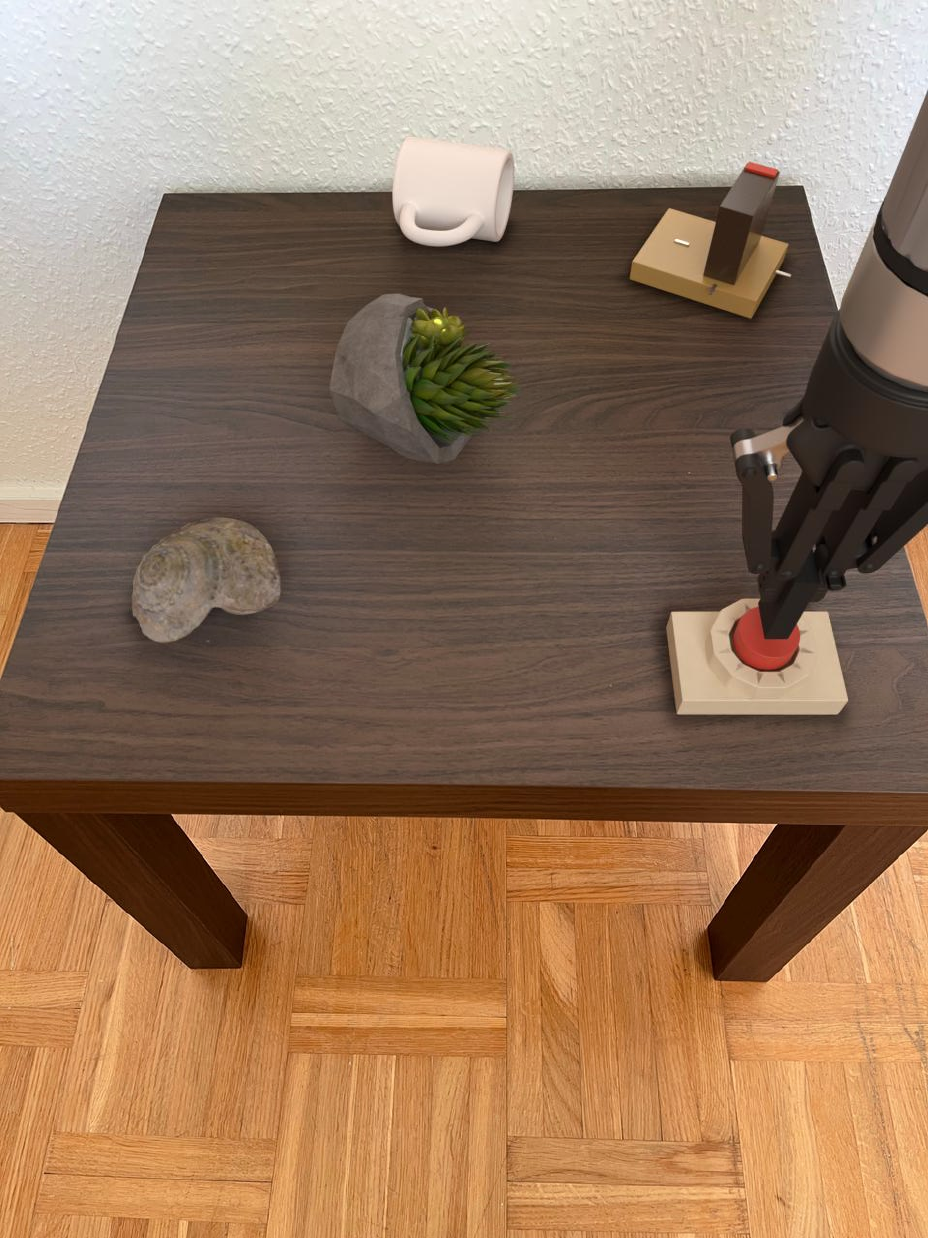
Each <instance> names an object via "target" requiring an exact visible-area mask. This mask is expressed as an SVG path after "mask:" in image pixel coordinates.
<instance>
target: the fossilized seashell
mask: <svg viewBox="0 0 928 1238" xmlns="http://www.w3.org/2000/svg"><path fill="white" fill-rule="evenodd" d="M132 588H133V589H132V592H131V593H132V594H131V610H132V611H131V612H132V616H133V618H136V620H137V622H138V625H139V626H140V627H141V631H142V634H143V635H144V636H146V637H147V638H148V639H149V640H151V641H153V642H155V643H160V644H165V643H166V644H167V643H173V642H177V641H179V640H181V639H184V638H185V637H187V636H189V635H190V634H191V633H193V632H194V630H196V629H197V628H198V627H200V626H201V625H202V623H203V622H204V621H205V620H206V618H207V617H208V615H209V614H210V613H211V611H212V609H214V608H219V609H221V610H222V611H224V612H225V613H228V614H232V615H236V616H246V615H252V614H255V613H259V612H262V611H263V612H264V611H265V610H266V609H267V610H268V609H269V608H271V607H273V606H274V605H275V604H277V602H279V601H280V600H281V598H282V596H283V591H282V577H281V572H280V568H279V563H278V560H277V558H276V554H275V552H274V550H273V547H272V546H271V543H270V542H269V541H268V540H267V538H266V537H265V536H264V535H263V534H262V532H260V531H259V529H258V528H256V527H254V526H253V525H252V524H250V523H248V522H247V521H244V520H238V519H235V518H229V517H224V516H223V517H210V518H204V519H201V520H196V521H195V522H188V523H187V524H185V525H183V526H181V527H180V526H179V528H177V529H175V530H173V531H172V532H171V533H169V534H168V535H167V536H165V538H164V537H163V538H160V540H159V542H157V543H155V544H154V545H152V547H150V549H149V551H147V552H146V553H145V554H144V555H143V557H142V559H141V561H140V564H138V565H137V566H136V570H135V575H134V578H133V579H132Z"/></svg>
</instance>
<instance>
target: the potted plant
mask: <svg viewBox="0 0 928 1238" xmlns="http://www.w3.org/2000/svg"><path fill="white" fill-rule="evenodd" d="M467 333H468V330H467V329H466V326H465V325H464V323H463V321H462V318H460V317H458V316H457V315H451V316H450V313H449V310H448V309H447V307H446V306H445V307H443V310H442V314H441V312H440V311H439V310H437V309H436V308H432V307H429V306H426V304H425V302H424V298H422V297H414V296H409V295H406V294H402V293H387V294H382V295H380V296H378V297H377V298H375V299H374V300H372V301H370V302H369V303H367V304H366V305H364V307H363V308H361V309H360V310H359V311H358V312H357V313H356V314H354V315H353V317H351V318H350V319H349V320H348V321H347V323H346V325H345V327H344V330H343V332H342V335H341V337H340V339H339V342H338V345H337V347H336V348H335V354H334V360H333V364H332V371H331V377H330V382H329V388H328V391H329V394H330V398H331V400H332V402H333V406H334V407H335V411H336V414H337V417H338V420H340V421H341V422H343V423H345V424H347V425H349V426H350V427H352V428H354V429H355V430H357V431H359V432H360V433H362V434H364V435H366V436H368V437H370V438H371V439H374V441H377V442H378V443H380V444H382V445H384V446H386V447H387V448H389V449H391V450H393V451H394V452H395V453H397V454H399V455H400V456H401V457H403V458H404V459H407V460H408V459H409V460H412V461H413V460H414V461H421V462H424V463H430V464H442V463H447V462H452V461H455V460H456V458H457V457H458V456H459V454H461V451H462V450H463V449H464V448H465V446H466V444H467V443H468V442H469V440H470V439H471V437H473V436H476V437H477V436H478V434H476V433H475V432H480V431H481V430H484V431H490V432H493V430H492V429H491V428H489V427H488V426H487V425H485V424H484V423H494V421H493V420H507V419H508V420H509V419H510V417H509V416H505V414H507V412H504V411H499V410H497V409H502V408H504V407H508V406H511V403H512V402H513V401H512V400H509V399H512V398H515V397H518V396H519V395H518V394H515V393H516V392H519V391H521V390H522V388H517V387H516V386H517V385H519V382H513V381H511V379H515V378H516V377H515V376H512V375H508V374H506V373H510V372H511V370H510V369H507V368H508V367H510V366H511V365H512V364H513V362H505V361H504V360H501V359H503V358H504V357H502V356H499V357H495V356H496V355H497V354H498V353H491V352H492V351H490V350H489V351H485V350H486V349H487V348H488V346H490V345H491V344H492V342H489V343H485V344H484V343H483V344H481V345H479V342H474V343H471V344H468V345H465V346H463V347H462V345H463V343H464V340H465V338H466V336H467ZM477 345H478V346H477ZM502 414H504V415H502ZM490 419H491V420H490ZM483 422H484V423H483Z"/></svg>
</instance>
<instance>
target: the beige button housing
mask: <svg viewBox="0 0 928 1238" xmlns="http://www.w3.org/2000/svg"><path fill="white" fill-rule="evenodd" d="M759 600H760V598H741V599H738V601H735V602H733V603H731V604H730V605H728V606H726V607H724V608H722V609H721V610H720V611H671V612H670V615H669V618H668V621H667V624H666V627H665V628H666V637H667V638H666V639H667V646H668V654H669V655H668V656H669V663H670V671H671V679H672V687H673V696H674V704H675V705H674V706H675V710H676V715H826V716H827V715H828V716H829V715H833V716H834V715H839V714H840V712H841V711H842V710H843V708H844V707H845V706H846V704H847V703H848V702H849V697H848V693H847V689H846V684H845V680H844V676H843V675H844V674H843V671H842V668H841V662H840V657H839V653H838V649H837V645H836V640H835V637H834V636H835V635H834V633H833V629H832V624H831V619H830V614H829V612H828V611H804V612H803V614H802V616H801V618H800V619H799V621H798V623H797V625H798V628H799V631H800V642H799V645H798V647H797V649H796V650H795V652H794V654H793V655H792V657H791V659H790V660H789V661H788V663H787V664H785V665H784V666H782V667H780V668H778V669H774V670H761V669H757V668H754V667H751V666H750V665H748V664H746V663H745V662H744V661H743V660H741V658H740V657H739V656H738V655H737V653H736V651H735V649H734V646H733V635H734V632H735V630H736V627H737V625H738V623H739V621H740V619H741V617H742V616H743V615H744V614H745V613H746V612H747V611H748V610H750V609H752V608H755V607H758V602H759Z"/></svg>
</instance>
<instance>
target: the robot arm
mask: <svg viewBox="0 0 928 1238" xmlns="http://www.w3.org/2000/svg"><path fill="white" fill-rule="evenodd" d="M756 434H757V433H756V432H755V431H754V430H753V429H752V428H748V427H741V428H738V429H736V430H734V431H733V432H732V433H731V434H730V436H729V441H730V446H731V452H732V458H733V464H734V468H735V473H736V478H737V479H738V481H739V482H740V484H741V538H742V543H743V549H744V550H743V551H744V555H745V561H746V566H747V570H748V572H749V573H750V574H752V575H758V576H757V579H756V582H757V586H758V592H759V597H760V598H759V599H760V600H759V602H758V607H759V612H760V618H761V623H762V628H763V634H764V639H788V638H789V636H790V635H791V633H792V631H793V630H794V628H795V626H796V624H797V623H798V621H799V619H800V618H801V616H802V614H803V612H806V611H805V610H806V609H807V607H808V605H809V604H810V603H819V602H820V601H821V600H823V599H824V598H825V596H826V595H827V593H828V592H837V591H841V590H843V589H844V588H846V587H847V585H848V584H847V580H846V576H845V574H846V572H847V571H849V570H853V569H857V571H858V573H859V574H863V575H864V574H866V575H869V574H872V573H875V572H877V571H878V570H880V569H881V568H882V567H883V566H884V565H885V564H886V563H888V561H890V559H892V558H893V557H894V556H895V555H896V554H897V553H898V552H899V551H900V550H902V549H903V548H904V547H905V546H906V545H907V544H908V543H909V542H910V541H911V540H913V539H914V538H915V537H916V536H917V535H918V534H919V533H920V532H921V531H922V530H924V529H925V528H926V527H927V526H928V89H927V90H926V93H925V95H924V98H923V101H922V103H921V105H920V108H919V111H918V113H917V116H916V119H915V121H914V123H913V126H912V129H911V130H910V134H909V136H908V138H907V141H906V144H905V146H904V148H903V151H902V154H901V157H900V159H899V161H898V164H897V166H896V169H895V171H894V174H893V176H892V178H891V182H890V184H889V186H888V189H887V191H886V194H885V196H884V197H883V200H882V202H881V205H880V207H879V209H878V212H877V215H876V218H875V220H874V221H873V223H872V225H871V228H870V231H869V233H868V235H867V238H866V239H865V243H864V245H863V247H862V250H861V252H860V254H859V257H858V259H857V261H856V264H855V267H854V268H853V271H852V274H851V276H850V279H849V281H848V284H847V286H846V288H845V291H844V293H843V295H842V298H841V301H840V307H839V309H838V310H837V311H836V313H835V315H834V317H833V318H832V320H831V323H830V326H829V328H828V331H827V332H826V336H825V337H824V340H823V343H822V344H821V347H820V350H819V352H818V354H817V357H816V359H815V362H814V364H813V366H812V369H811V371H810V375H809V378H808V382H807V386H806V388H805V392H804V395H803V396H802V398H801V399H800V400H799V401H798V403H796V404H795V405H793V407H791V408H790V409H789V410H788V411H787V413H786V414H785V415H784V418H783V421H782V426H780V427H777V428H775V429H772V430H770V431H767V432H764V433H762V434H759V435H756ZM788 454H790V455H792V457H793V458H794V460H795V461H796V463H797V464H798V466H799V468H800V469H801V474H800V476H799V478H798V480H797V481H796V484H795V487H794V489H793V491H792V493H791V495H790V497H789V499H788V501H787V504H786V506H785V508H784V511H783V512H782V515H781V516H780V519H779V521H778V522H777V525H776V527H775V529H773V522H774V501H775V495H774V488H773V483H772V482H776V481H777V480H778V479H779V471H780V470H781V469H782V468H783V459H784V458H785V457H786V456H787V455H788ZM875 538H876V541H875ZM814 547H815V549H814Z"/></svg>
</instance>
